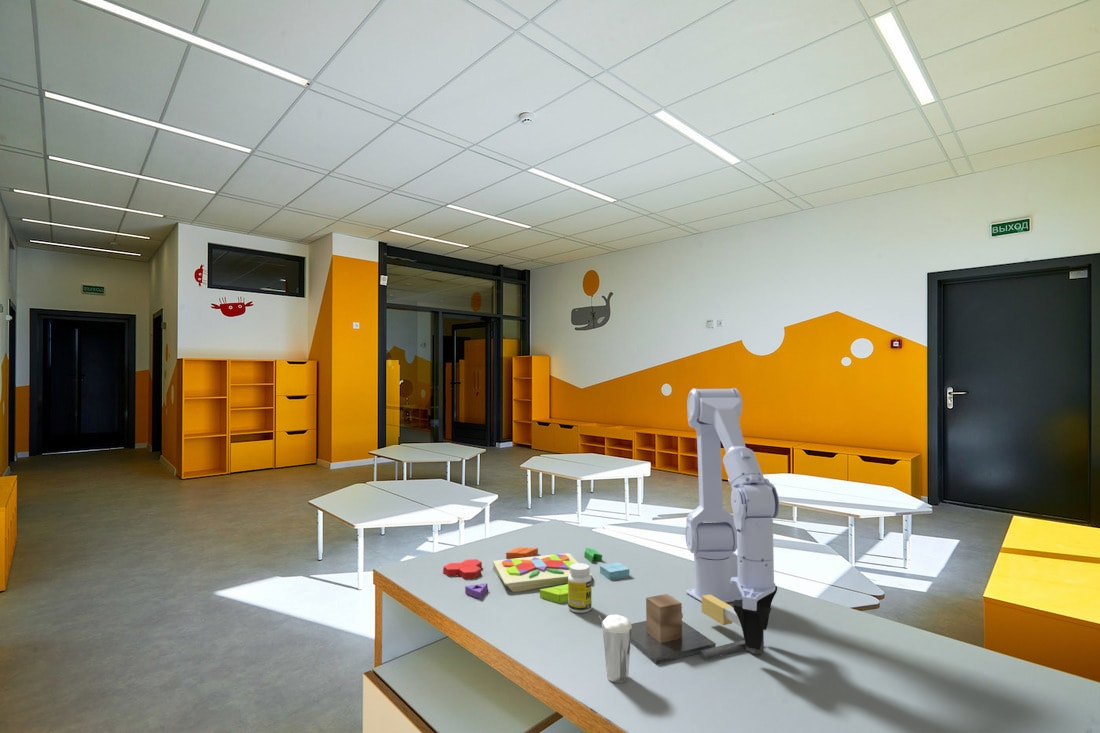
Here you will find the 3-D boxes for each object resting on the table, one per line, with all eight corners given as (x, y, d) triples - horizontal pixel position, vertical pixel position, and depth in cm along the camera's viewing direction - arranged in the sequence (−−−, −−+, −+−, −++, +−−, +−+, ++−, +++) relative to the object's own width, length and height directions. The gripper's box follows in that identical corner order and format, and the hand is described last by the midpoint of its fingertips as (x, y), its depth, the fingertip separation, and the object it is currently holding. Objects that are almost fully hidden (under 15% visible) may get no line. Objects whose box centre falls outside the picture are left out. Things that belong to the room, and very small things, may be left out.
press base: (707, 613, 105) (707, 607, 105) (760, 645, 92) (760, 639, 92) (618, 632, 98) (618, 626, 98) (662, 670, 85) (662, 663, 85)
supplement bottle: (590, 614, 105) (589, 571, 105) (566, 612, 106) (565, 569, 106) (593, 604, 110) (592, 562, 110) (570, 602, 111) (569, 561, 111)
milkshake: (592, 674, 84) (592, 609, 84) (622, 667, 86) (621, 603, 86) (607, 690, 79) (606, 621, 80) (638, 681, 82) (637, 615, 82)
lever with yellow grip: (710, 618, 102) (710, 586, 102) (763, 651, 89) (763, 614, 90) (701, 620, 101) (701, 587, 101) (754, 654, 89) (753, 616, 89)
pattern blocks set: (568, 545, 151) (567, 534, 151) (648, 583, 122) (648, 569, 123) (437, 571, 131) (437, 558, 131) (496, 623, 103) (496, 606, 103)
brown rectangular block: (673, 626, 98) (672, 592, 98) (687, 636, 94) (687, 602, 94) (646, 631, 96) (646, 597, 96) (660, 642, 91) (660, 607, 92)
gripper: (737, 541, 99) (739, 615, 98) (722, 565, 86) (723, 651, 86) (779, 546, 95) (780, 623, 95) (769, 572, 83) (771, 661, 82)
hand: (756, 637), depth 90 cm, fingers open, 7 cm apart
